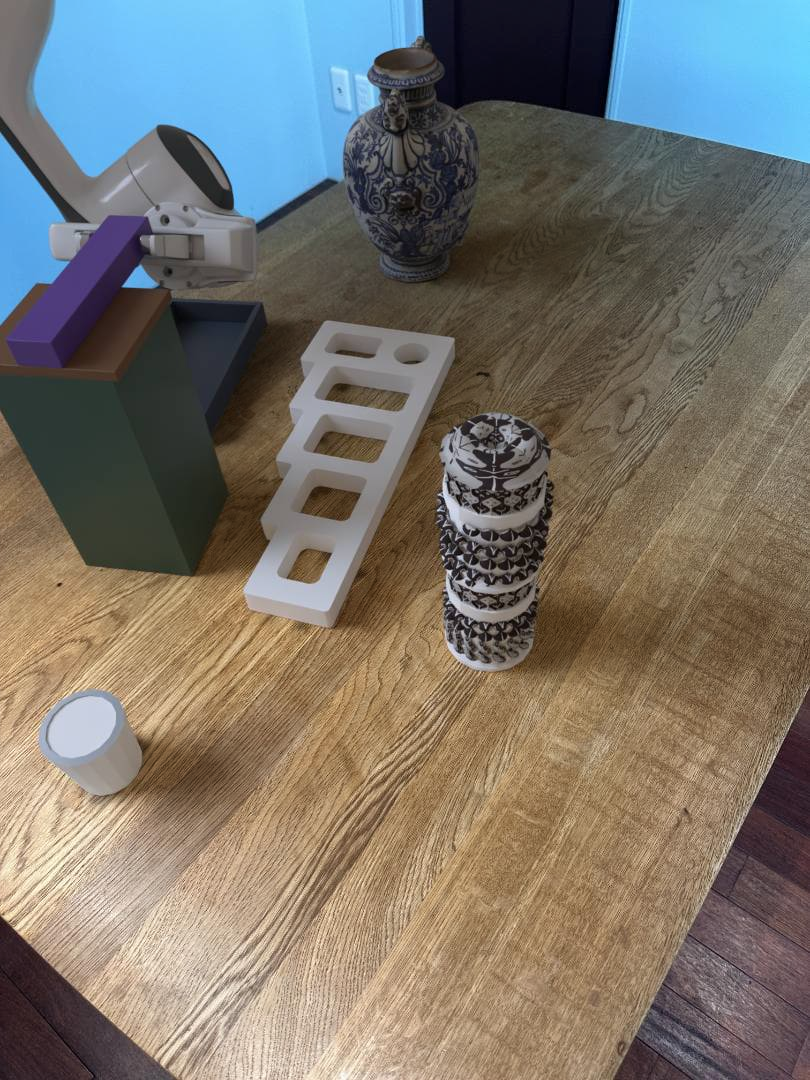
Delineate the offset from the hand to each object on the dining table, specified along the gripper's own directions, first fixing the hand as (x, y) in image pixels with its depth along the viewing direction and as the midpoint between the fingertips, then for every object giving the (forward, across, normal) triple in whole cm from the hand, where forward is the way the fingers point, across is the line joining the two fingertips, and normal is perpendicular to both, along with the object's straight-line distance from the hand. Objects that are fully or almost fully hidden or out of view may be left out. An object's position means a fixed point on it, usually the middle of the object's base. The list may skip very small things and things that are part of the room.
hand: (114, 243), depth 74 cm
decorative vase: (-54, +19, +1) cm, 57 cm away
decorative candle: (+3, +37, +34) cm, 50 cm away
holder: (-16, +16, +23) cm, 32 cm away
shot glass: (+18, +6, +43) cm, 47 cm away
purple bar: (+5, 0, +5) cm, 7 cm away
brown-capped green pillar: (-5, 0, +29) cm, 30 cm away
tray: (-28, -6, +16) cm, 32 cm away
